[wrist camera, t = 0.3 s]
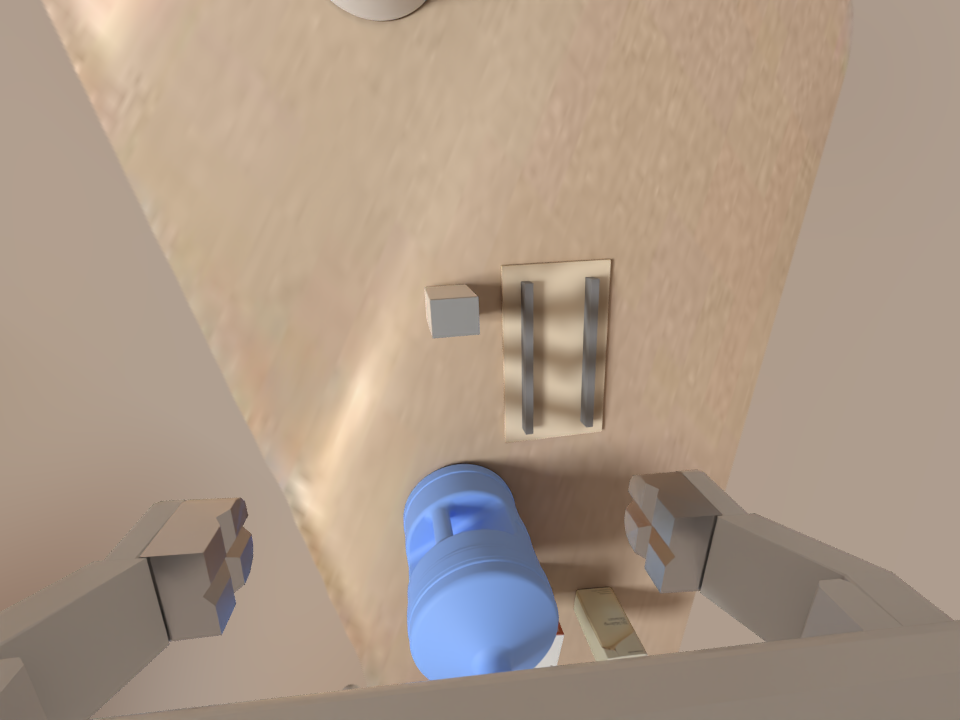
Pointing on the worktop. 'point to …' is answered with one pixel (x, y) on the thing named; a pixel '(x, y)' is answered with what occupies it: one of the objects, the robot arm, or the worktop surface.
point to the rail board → (554, 347)
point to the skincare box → (606, 625)
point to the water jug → (473, 578)
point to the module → (452, 311)
